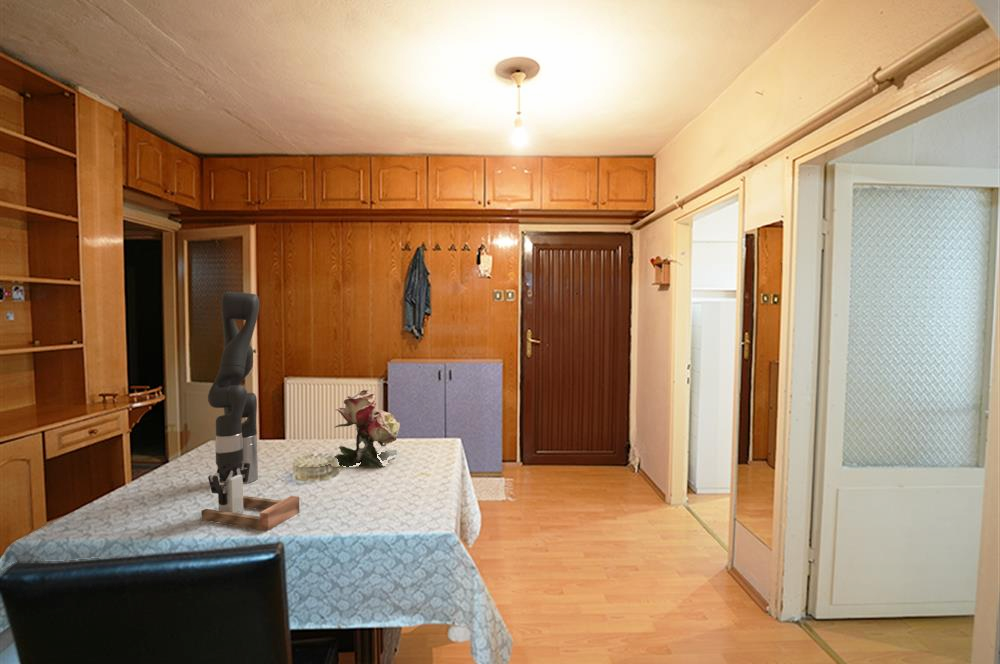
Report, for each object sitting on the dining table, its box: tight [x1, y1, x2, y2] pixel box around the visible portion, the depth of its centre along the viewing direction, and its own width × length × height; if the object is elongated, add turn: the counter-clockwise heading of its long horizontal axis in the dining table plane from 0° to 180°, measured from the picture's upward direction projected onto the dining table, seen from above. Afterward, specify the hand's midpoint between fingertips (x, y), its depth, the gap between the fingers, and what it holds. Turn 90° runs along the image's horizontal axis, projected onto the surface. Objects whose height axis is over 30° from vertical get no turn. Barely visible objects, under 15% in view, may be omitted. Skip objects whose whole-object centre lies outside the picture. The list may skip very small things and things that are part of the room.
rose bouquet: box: [334, 389, 401, 468], centre depth 202 cm, size 26×29×30 cm
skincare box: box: [217, 475, 244, 514], centre depth 146 cm, size 6×4×12 cm
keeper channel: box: [200, 495, 300, 531], centre depth 144 cm, size 25×13×5 cm, turn 74°
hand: (230, 500), depth 146 cm, fingers open, 5 cm apart
